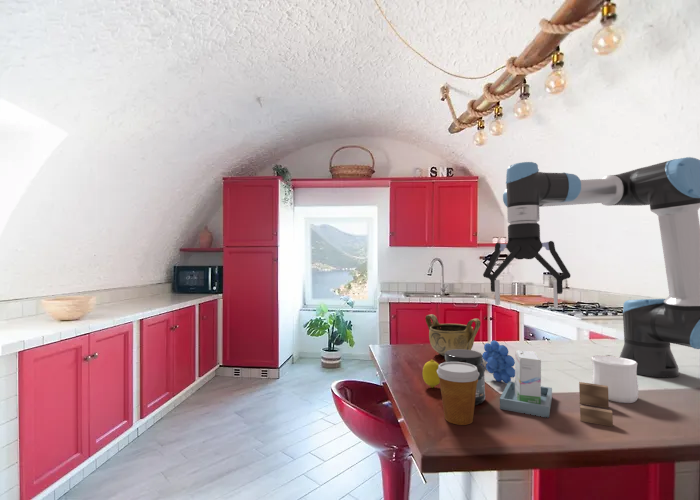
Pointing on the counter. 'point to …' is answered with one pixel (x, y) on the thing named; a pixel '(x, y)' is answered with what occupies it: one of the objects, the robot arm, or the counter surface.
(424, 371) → the lemon
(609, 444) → the counter surface
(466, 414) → the disposable coffee cup
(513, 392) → the tray
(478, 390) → the supplement container
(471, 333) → the ceramic bowl
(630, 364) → the cup
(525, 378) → the ink box
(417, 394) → the counter surface
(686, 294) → the robot arm
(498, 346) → the grapes
